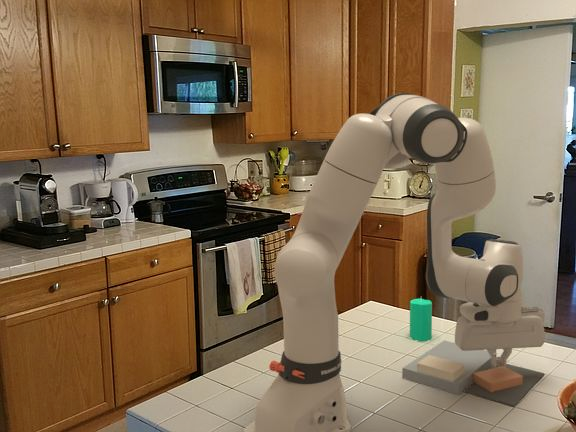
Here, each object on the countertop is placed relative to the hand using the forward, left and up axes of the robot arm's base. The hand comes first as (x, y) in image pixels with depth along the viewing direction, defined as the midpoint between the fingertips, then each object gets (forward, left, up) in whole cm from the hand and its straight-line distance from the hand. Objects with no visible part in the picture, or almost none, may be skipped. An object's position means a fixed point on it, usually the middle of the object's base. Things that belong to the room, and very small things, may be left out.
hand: (498, 365), depth 133 cm
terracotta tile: (-3, -1, -3) cm, 4 cm away
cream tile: (-10, +10, -1) cm, 14 cm away
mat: (-1, -2, -3) cm, 4 cm away
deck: (-2, +11, -3) cm, 12 cm away
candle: (+13, +27, -4) cm, 30 cm away
